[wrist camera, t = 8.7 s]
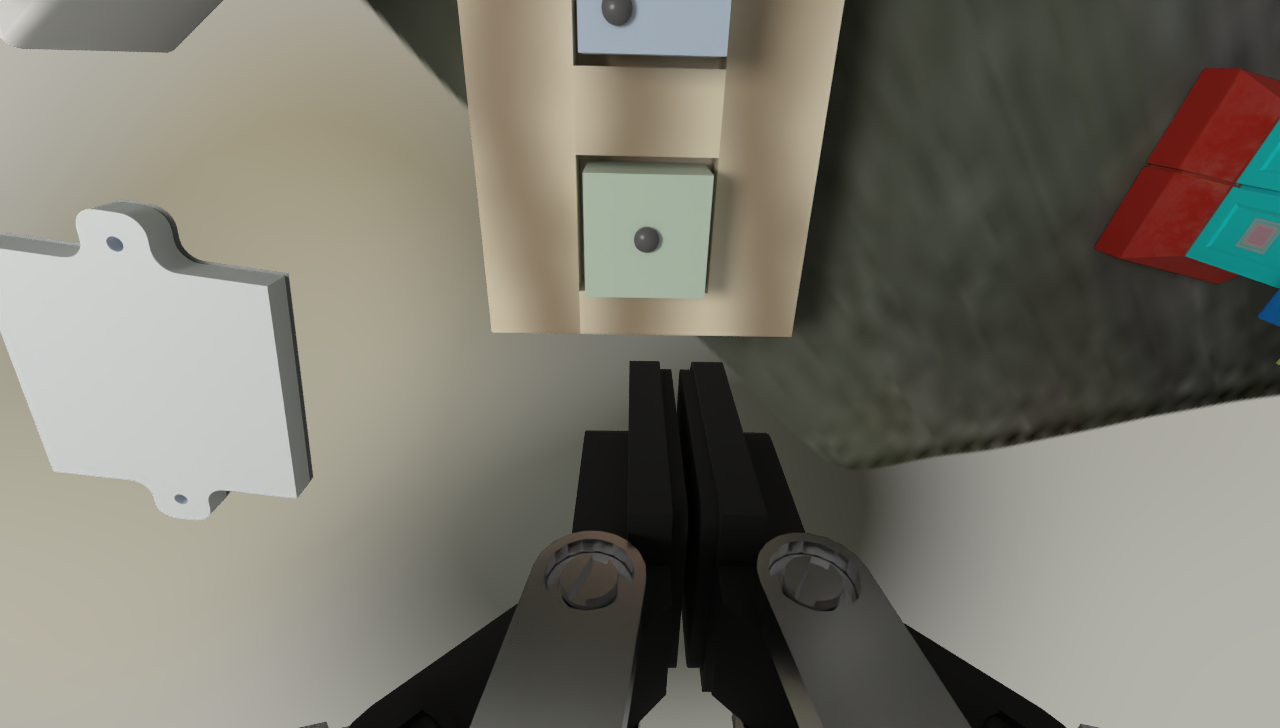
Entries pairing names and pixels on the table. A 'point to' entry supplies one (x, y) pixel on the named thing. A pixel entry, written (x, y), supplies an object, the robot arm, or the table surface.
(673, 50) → the button two
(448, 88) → the table surface
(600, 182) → the button one
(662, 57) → the wooden puzzle board
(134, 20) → the medicine bottle
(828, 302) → the table surface
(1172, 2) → the table surface
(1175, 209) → the toy robot
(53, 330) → the mounting plate
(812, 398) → the table surface
